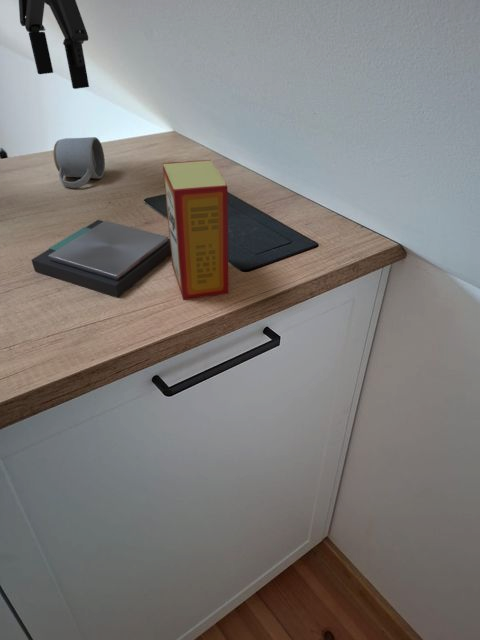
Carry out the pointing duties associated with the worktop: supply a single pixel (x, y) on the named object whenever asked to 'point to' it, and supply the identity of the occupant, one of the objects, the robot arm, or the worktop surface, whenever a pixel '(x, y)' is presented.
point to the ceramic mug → (79, 160)
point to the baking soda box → (197, 227)
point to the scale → (95, 280)
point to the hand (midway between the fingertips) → (62, 80)
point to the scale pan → (109, 249)
